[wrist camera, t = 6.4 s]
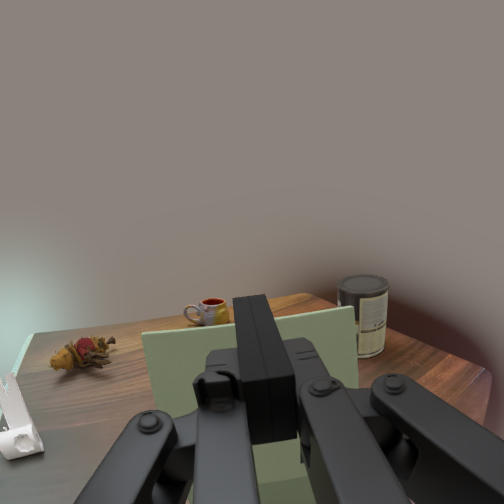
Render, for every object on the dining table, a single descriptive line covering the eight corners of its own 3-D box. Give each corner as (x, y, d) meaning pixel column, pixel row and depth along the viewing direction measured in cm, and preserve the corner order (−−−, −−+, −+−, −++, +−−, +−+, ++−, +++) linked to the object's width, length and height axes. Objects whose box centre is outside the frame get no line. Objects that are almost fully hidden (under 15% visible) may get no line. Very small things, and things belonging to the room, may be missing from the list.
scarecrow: (62, 354, 66) (52, 327, 64) (118, 345, 71) (109, 316, 69) (48, 390, 50) (34, 359, 48) (115, 381, 55) (103, 348, 53)
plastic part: (9, 464, 28) (-28, 409, 25) (8, 429, 36) (-21, 378, 33) (45, 455, 32) (10, 400, 29) (39, 421, 40) (12, 369, 37)
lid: (143, 332, 22) (140, 334, 21) (350, 305, 23) (354, 306, 22) (181, 484, 22) (180, 489, 21) (355, 458, 23) (358, 463, 22)
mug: (233, 318, 82) (229, 295, 80) (226, 330, 75) (222, 306, 74) (191, 318, 84) (187, 296, 83) (181, 329, 78) (177, 306, 76)
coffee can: (332, 356, 58) (331, 291, 55) (342, 332, 67) (342, 273, 64) (382, 360, 54) (387, 293, 51) (386, 335, 63) (389, 274, 59)
